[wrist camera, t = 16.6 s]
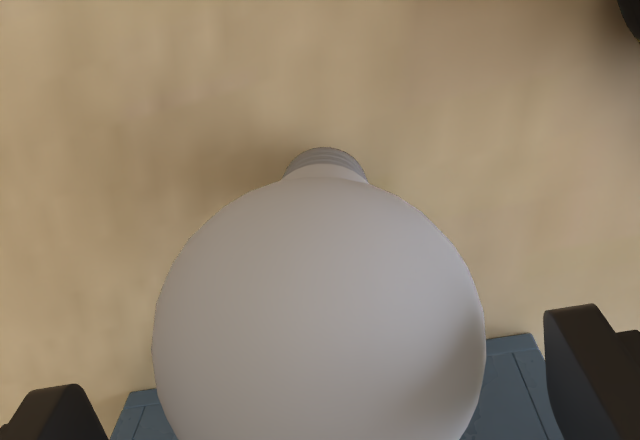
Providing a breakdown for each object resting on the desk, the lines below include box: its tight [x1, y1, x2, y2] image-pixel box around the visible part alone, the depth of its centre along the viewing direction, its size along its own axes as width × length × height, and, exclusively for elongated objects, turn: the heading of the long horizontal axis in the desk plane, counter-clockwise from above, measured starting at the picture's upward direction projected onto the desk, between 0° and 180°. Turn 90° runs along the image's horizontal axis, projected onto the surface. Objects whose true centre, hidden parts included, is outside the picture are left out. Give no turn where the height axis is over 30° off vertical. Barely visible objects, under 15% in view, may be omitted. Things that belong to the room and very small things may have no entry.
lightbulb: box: [151, 147, 486, 440], centre depth 14 cm, size 6×6×11 cm
